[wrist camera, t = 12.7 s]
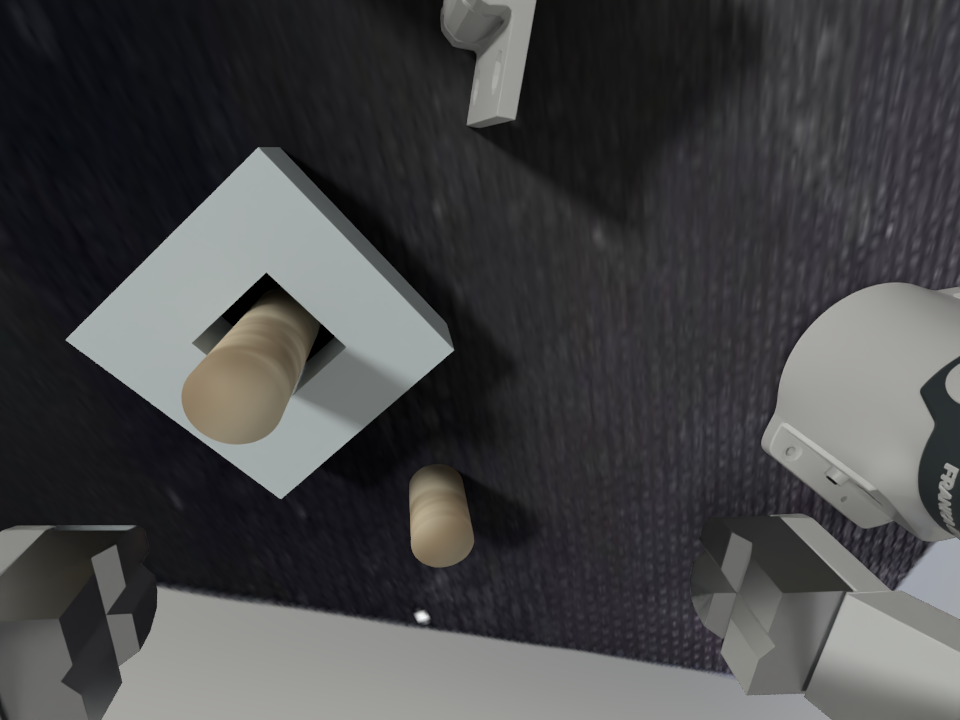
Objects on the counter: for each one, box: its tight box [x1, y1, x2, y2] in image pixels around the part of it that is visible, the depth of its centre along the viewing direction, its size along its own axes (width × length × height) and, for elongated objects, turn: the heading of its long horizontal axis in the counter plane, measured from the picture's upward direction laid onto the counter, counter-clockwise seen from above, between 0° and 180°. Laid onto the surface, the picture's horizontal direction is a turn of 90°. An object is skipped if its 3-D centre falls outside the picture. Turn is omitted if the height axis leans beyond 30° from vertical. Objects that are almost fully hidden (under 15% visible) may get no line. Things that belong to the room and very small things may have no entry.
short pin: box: [409, 464, 474, 567], centre depth 37 cm, size 4×4×6 cm
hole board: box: [66, 147, 454, 499], centre depth 31 cm, size 14×14×5 cm
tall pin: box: [181, 287, 321, 445], centre depth 28 cm, size 4×4×12 cm
